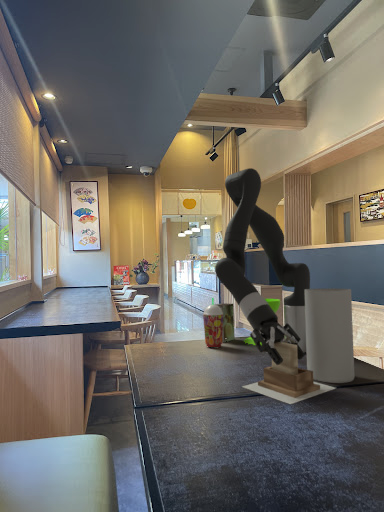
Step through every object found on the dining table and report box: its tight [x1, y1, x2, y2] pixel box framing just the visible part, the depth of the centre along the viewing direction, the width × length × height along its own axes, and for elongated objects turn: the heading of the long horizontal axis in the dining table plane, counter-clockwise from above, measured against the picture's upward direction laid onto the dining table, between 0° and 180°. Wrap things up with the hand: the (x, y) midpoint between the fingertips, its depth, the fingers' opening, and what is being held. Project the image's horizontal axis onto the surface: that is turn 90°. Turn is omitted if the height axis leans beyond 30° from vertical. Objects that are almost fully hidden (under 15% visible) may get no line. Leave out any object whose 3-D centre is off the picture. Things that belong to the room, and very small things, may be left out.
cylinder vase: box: [305, 287, 355, 384], centre depth 103 cm, size 12×12×25 cm
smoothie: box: [202, 297, 223, 348], centre depth 147 cm, size 8×8×20 cm
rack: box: [257, 365, 320, 398], centre depth 94 cm, size 10×12×4 cm
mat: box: [241, 381, 336, 405], centre depth 94 cm, size 18×16×1 cm
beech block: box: [271, 342, 299, 375], centre depth 94 cm, size 3×6×10 cm, turn 35°
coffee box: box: [215, 302, 235, 343], centre depth 161 cm, size 9×6×16 cm
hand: (291, 360), depth 93 cm, fingers open, 8 cm apart
